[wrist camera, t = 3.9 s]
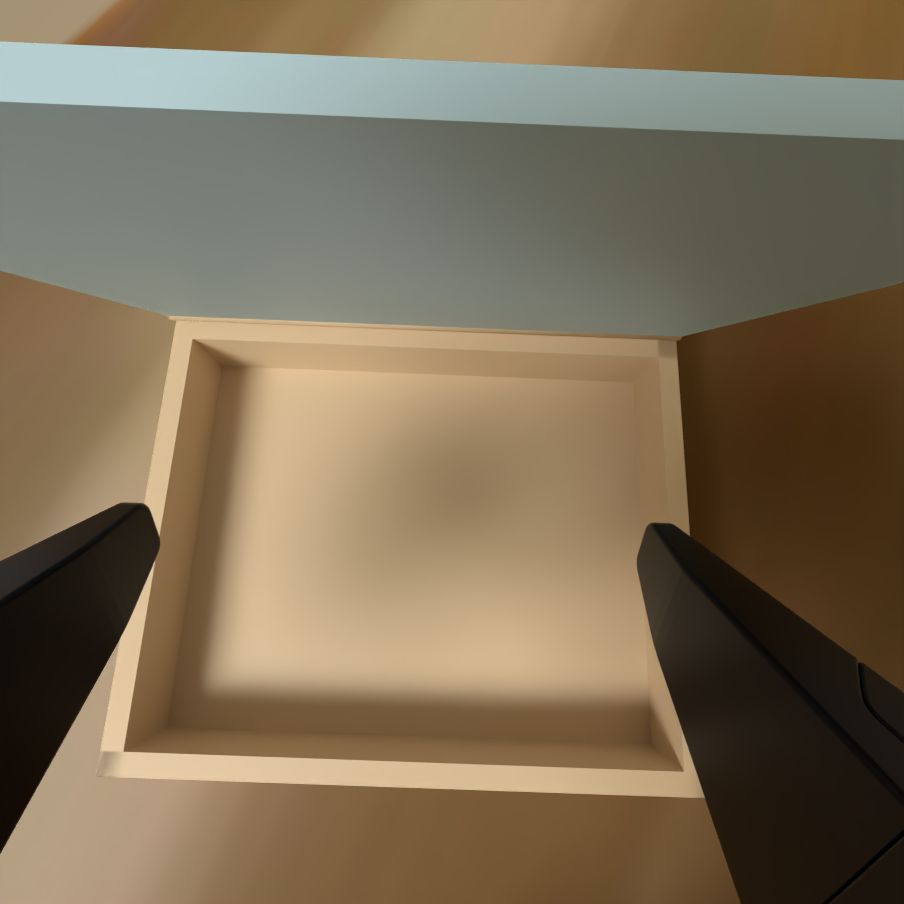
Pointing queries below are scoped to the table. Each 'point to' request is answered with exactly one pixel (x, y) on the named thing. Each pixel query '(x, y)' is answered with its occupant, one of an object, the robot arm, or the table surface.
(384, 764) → the wooden tray
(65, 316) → the table surface
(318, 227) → the lid
